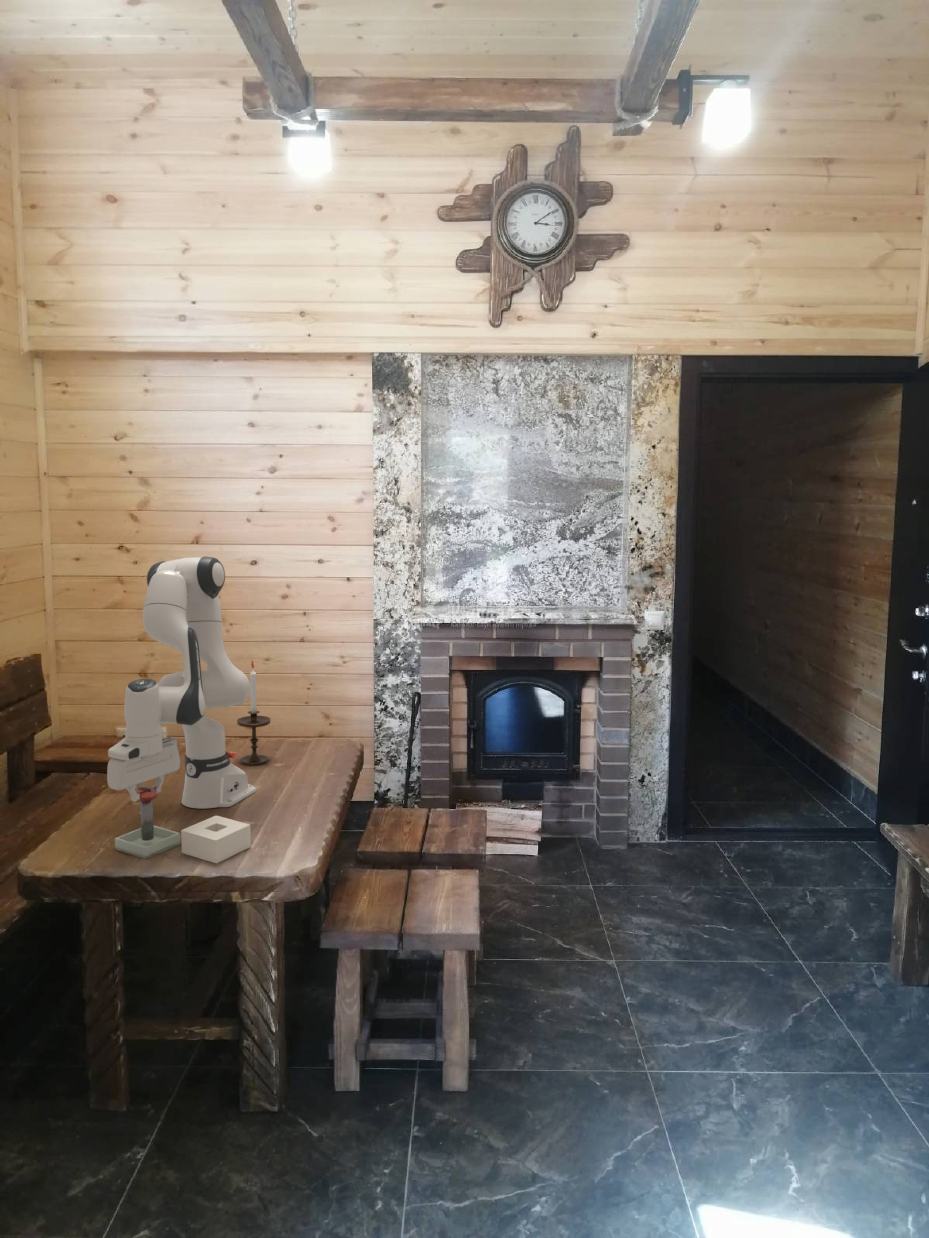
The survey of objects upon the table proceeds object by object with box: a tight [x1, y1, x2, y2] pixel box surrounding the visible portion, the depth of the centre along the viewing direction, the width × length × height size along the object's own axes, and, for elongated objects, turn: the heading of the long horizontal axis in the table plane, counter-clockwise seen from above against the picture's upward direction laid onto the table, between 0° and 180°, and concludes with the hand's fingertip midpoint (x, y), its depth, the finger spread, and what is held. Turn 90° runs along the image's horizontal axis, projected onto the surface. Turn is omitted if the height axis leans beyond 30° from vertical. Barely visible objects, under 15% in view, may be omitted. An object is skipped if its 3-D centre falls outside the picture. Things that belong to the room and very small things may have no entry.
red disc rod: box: [135, 784, 158, 841], centre depth 227 cm, size 5×5×14 cm
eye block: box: [180, 815, 252, 865], centre depth 227 cm, size 12×12×6 cm
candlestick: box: [236, 660, 271, 767], centre depth 296 cm, size 11×11×35 cm
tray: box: [114, 825, 181, 860], centre depth 228 cm, size 11×11×3 cm
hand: (146, 796), depth 226 cm, fingers closed on red disc rod, 5 cm apart
